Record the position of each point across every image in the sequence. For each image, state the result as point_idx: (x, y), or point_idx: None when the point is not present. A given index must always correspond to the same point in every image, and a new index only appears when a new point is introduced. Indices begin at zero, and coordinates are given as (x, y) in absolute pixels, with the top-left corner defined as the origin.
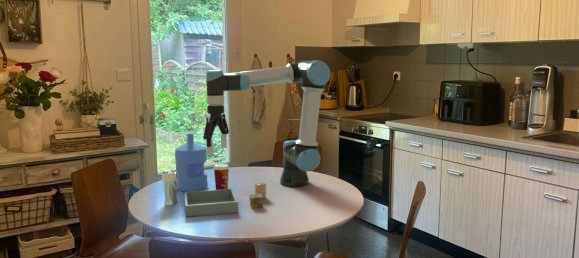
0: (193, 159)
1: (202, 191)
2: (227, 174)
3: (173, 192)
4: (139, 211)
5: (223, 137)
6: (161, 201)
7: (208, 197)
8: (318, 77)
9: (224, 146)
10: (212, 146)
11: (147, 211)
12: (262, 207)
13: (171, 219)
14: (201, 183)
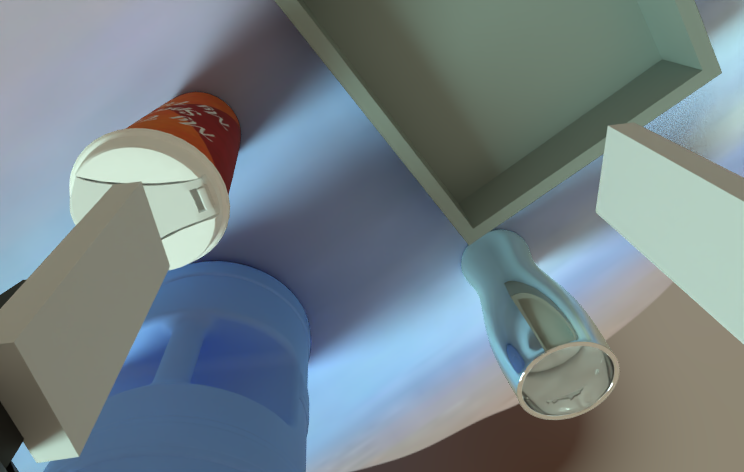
0: (260, 437)
1: (418, 157)
2: (152, 121)
3: (541, 271)
4: (623, 308)
5: (83, 340)
6: (475, 319)
7: (389, 115)
8: None
9: (143, 221)
10: (700, 168)
11: (618, 281)
12: None
13: (709, 112)
14: (231, 286)
